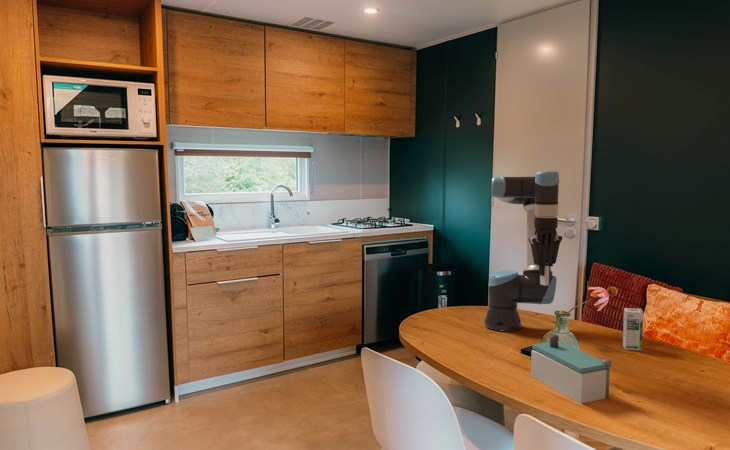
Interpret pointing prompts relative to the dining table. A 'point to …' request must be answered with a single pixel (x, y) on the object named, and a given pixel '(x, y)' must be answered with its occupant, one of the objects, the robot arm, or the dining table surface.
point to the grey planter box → (570, 379)
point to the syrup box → (633, 329)
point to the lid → (571, 355)
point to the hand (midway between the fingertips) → (544, 284)
